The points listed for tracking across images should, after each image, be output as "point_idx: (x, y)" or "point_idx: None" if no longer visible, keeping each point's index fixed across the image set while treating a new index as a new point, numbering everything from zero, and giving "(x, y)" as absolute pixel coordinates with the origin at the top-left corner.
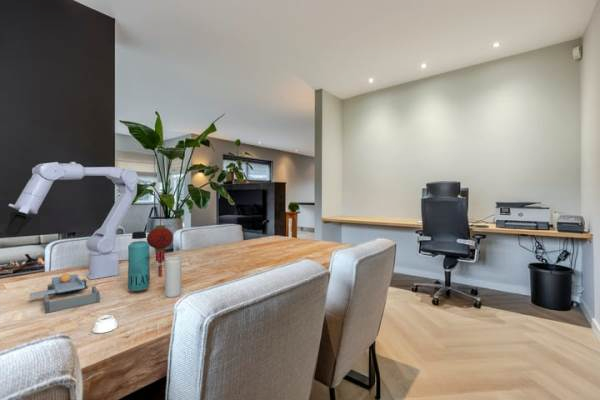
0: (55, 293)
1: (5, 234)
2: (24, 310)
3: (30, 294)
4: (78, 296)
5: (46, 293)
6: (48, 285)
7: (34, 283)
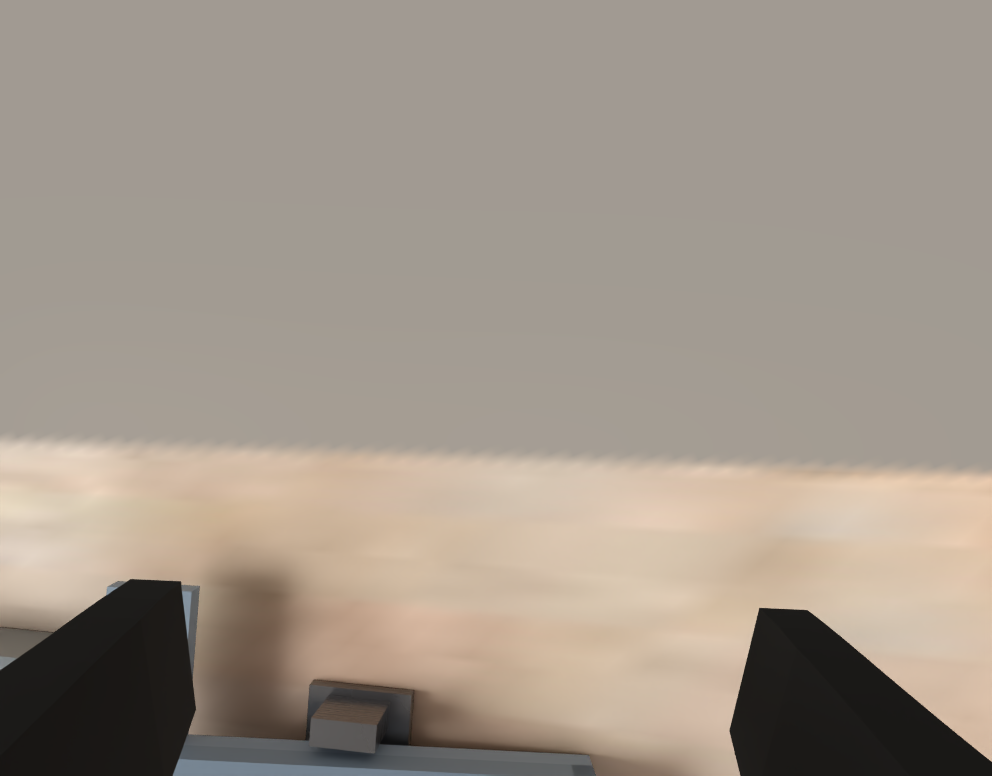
0: (308, 736)
1: (134, 579)
2: (73, 532)
3: None
4: None
5: None
6: (355, 729)
7: None
